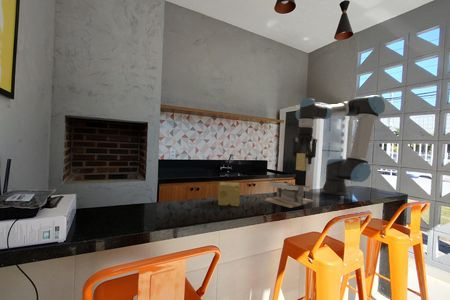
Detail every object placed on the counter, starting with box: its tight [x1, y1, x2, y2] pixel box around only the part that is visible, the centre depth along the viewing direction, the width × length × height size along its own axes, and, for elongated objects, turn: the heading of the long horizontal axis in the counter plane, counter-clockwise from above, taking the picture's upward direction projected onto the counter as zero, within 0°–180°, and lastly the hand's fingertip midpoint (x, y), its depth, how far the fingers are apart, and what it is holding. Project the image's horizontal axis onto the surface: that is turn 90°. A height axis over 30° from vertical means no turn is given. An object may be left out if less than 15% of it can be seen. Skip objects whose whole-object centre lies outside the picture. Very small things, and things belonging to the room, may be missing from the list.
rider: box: [295, 153, 311, 172], centre depth 127 cm, size 6×5×9 cm
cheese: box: [217, 181, 241, 207], centre depth 115 cm, size 10×11×10 cm
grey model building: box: [268, 180, 311, 197], centre depth 125 cm, size 22×11×6 cm, turn 132°
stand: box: [264, 187, 314, 209], centre depth 125 cm, size 22×16×9 cm
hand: (302, 169), depth 127 cm, fingers closed on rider, 5 cm apart
